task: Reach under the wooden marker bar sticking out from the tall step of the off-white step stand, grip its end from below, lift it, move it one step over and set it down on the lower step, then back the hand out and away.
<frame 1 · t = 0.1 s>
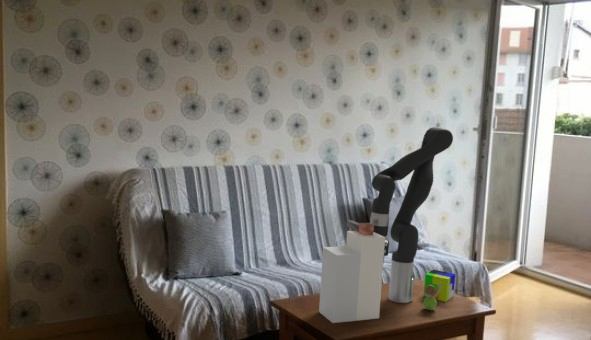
hand: (375, 262, 255), 17 cm above the table, tool pointing down, fingers open, 8 cm apart
snail figurine: (430, 310, 252), on the table
step stand: (348, 315, 241), on the table
marker bar: (358, 230, 244), point 32 cm above the table, touching step stand
puzzle toy: (438, 296, 270), on the table
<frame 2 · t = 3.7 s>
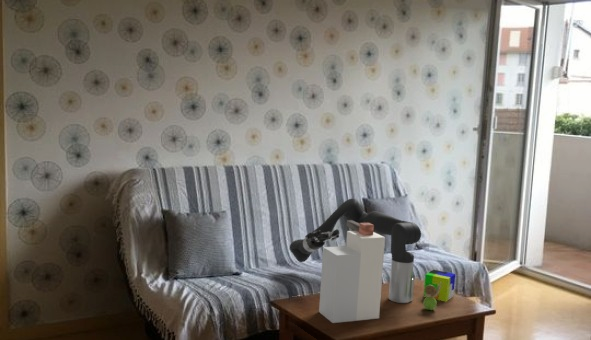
hand: (329, 231, 265), 26 cm above the table, tool pointing upward, fingers open, 8 cm apart
nothing on the table moved.
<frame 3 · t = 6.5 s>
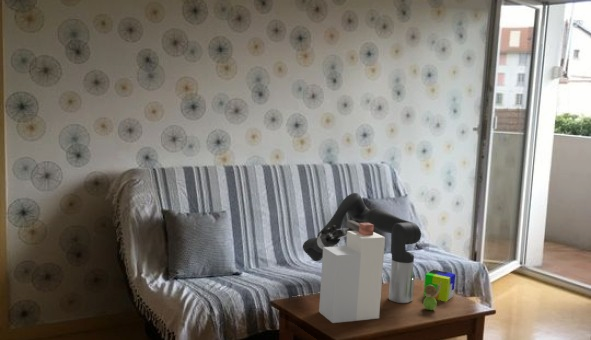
hand: (344, 227, 254), 31 cm above the table, tool pointing upward, fingers open, 8 cm apart
nothing on the table moved.
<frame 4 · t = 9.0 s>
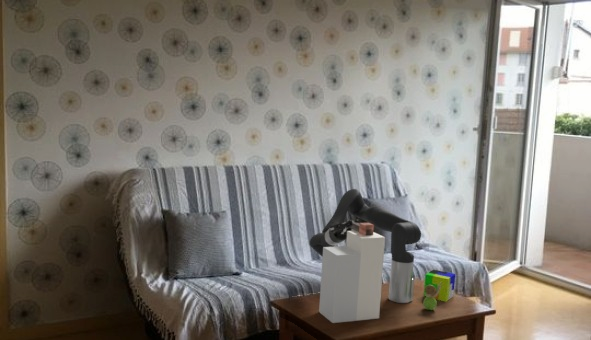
hand: (354, 222, 247), 35 cm above the table, tool pointing upward, fingers closed on marker bar, 2 cm apart
marker bar: (358, 230, 244), point 32 cm above the table, touching gripper, step stand
everything else where it was.
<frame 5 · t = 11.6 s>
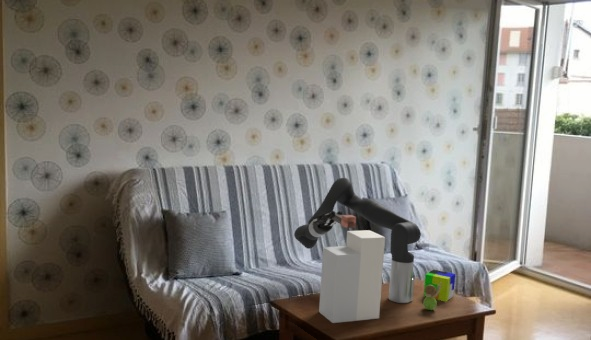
hand: (337, 213, 244), 38 cm above the table, tool pointing upward, fingers closed on marker bar, 2 cm apart
marker bar: (341, 222, 241), point 35 cm above the table, touching gripper
everything else where it was.
when the fingers open (30 cm above the table, at t = 14.5 s): marker bar stays where it is, resting on step stand.
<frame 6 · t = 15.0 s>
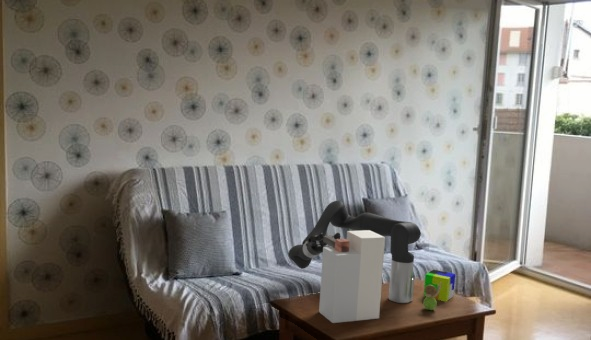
hand: (330, 235, 244), 30 cm above the table, tool pointing upward, fingers open, 6 cm apart
marker bar: (334, 246, 241), point 26 cm above the table, touching step stand
everything else where it was.
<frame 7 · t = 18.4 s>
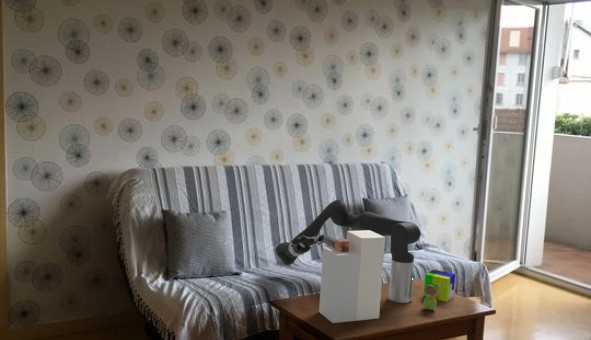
hand: (314, 237, 258), 25 cm above the table, tool pointing upward, fingers open, 8 cm apart
nothing on the table moved.
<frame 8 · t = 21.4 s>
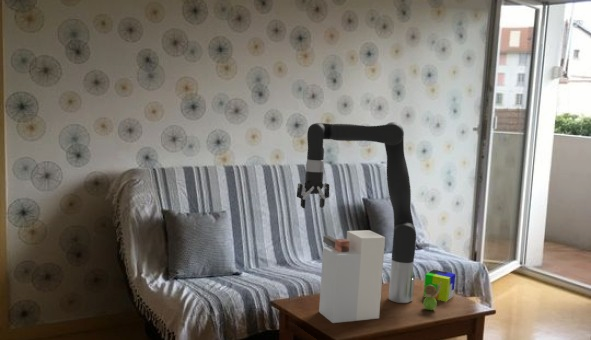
hand: (312, 207, 265), 36 cm above the table, tool pointing down, fingers open, 8 cm apart
nothing on the table moved.
at the end: marker bar 0.0 cm from the target spot, point 26.0 cm above the table; marker bar tilted 0°; the gripper is holding nothing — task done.
